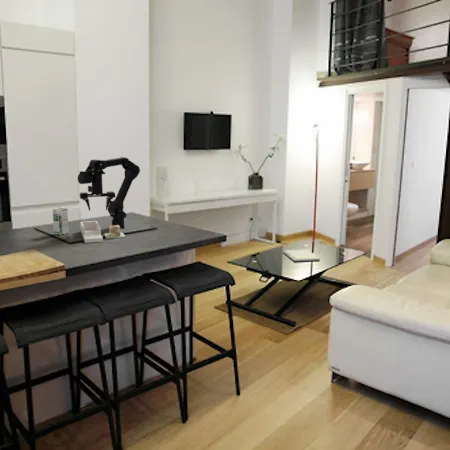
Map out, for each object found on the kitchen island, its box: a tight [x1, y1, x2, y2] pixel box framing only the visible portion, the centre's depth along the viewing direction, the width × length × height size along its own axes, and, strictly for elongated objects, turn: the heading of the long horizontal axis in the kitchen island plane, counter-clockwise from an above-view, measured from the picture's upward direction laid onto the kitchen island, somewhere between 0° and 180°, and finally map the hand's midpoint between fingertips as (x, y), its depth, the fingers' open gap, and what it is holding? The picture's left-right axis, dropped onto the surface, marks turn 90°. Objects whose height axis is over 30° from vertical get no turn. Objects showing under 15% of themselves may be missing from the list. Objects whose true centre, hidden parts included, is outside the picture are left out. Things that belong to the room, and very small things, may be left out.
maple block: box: [108, 224, 121, 237], centre depth 252 cm, size 5×5×5 cm
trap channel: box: [80, 220, 104, 244], centre depth 251 cm, size 9×27×6 cm, turn 21°
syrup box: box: [52, 206, 69, 236], centre depth 254 cm, size 6×6×14 cm
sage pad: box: [103, 231, 126, 240], centre depth 254 cm, size 10×10×1 cm
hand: (98, 210), depth 261 cm, fingers open, 9 cm apart
